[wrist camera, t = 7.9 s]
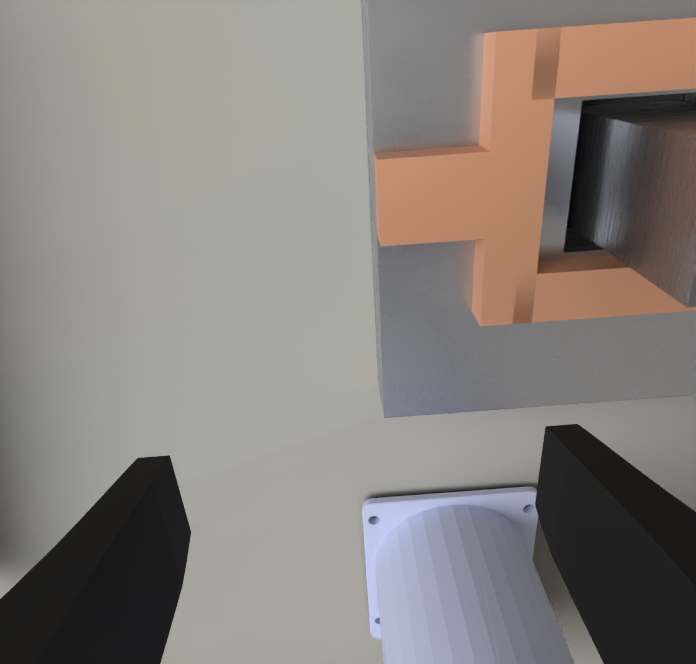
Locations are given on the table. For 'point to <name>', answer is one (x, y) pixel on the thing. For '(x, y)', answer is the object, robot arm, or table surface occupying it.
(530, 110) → the bracket
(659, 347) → the silver base plate
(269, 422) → the table surface
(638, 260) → the grey rectangular box
